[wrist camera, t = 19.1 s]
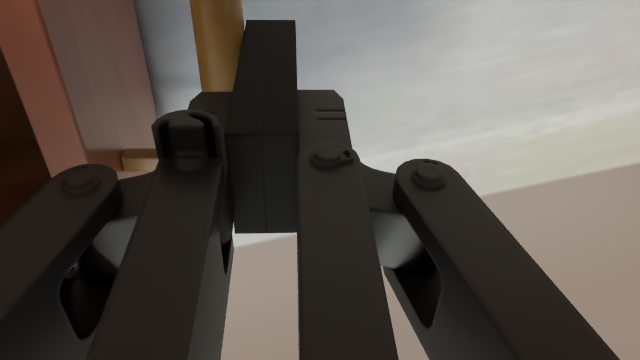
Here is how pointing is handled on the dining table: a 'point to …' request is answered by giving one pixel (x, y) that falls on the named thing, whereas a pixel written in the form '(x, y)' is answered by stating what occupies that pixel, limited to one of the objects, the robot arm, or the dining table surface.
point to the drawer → (90, 87)
